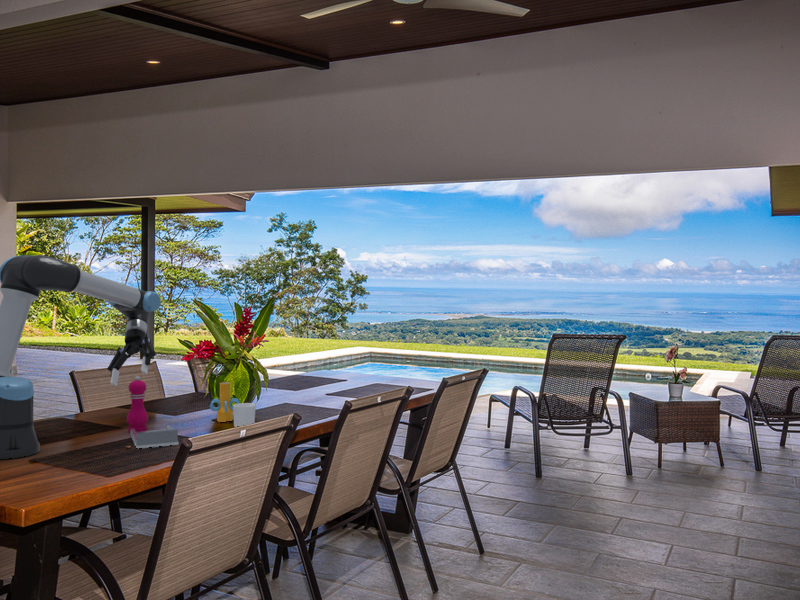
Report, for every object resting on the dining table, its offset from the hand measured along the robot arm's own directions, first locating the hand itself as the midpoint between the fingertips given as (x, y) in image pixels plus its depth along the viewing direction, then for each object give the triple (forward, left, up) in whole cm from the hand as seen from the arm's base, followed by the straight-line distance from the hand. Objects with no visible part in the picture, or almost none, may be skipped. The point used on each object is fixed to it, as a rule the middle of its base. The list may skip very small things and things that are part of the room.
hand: (128, 378), depth 245 cm
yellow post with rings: (+21, -28, -19) cm, 39 cm away
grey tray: (-14, -20, -18) cm, 30 cm away
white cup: (+5, -44, -19) cm, 48 cm away
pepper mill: (-3, -6, -19) cm, 20 cm away
